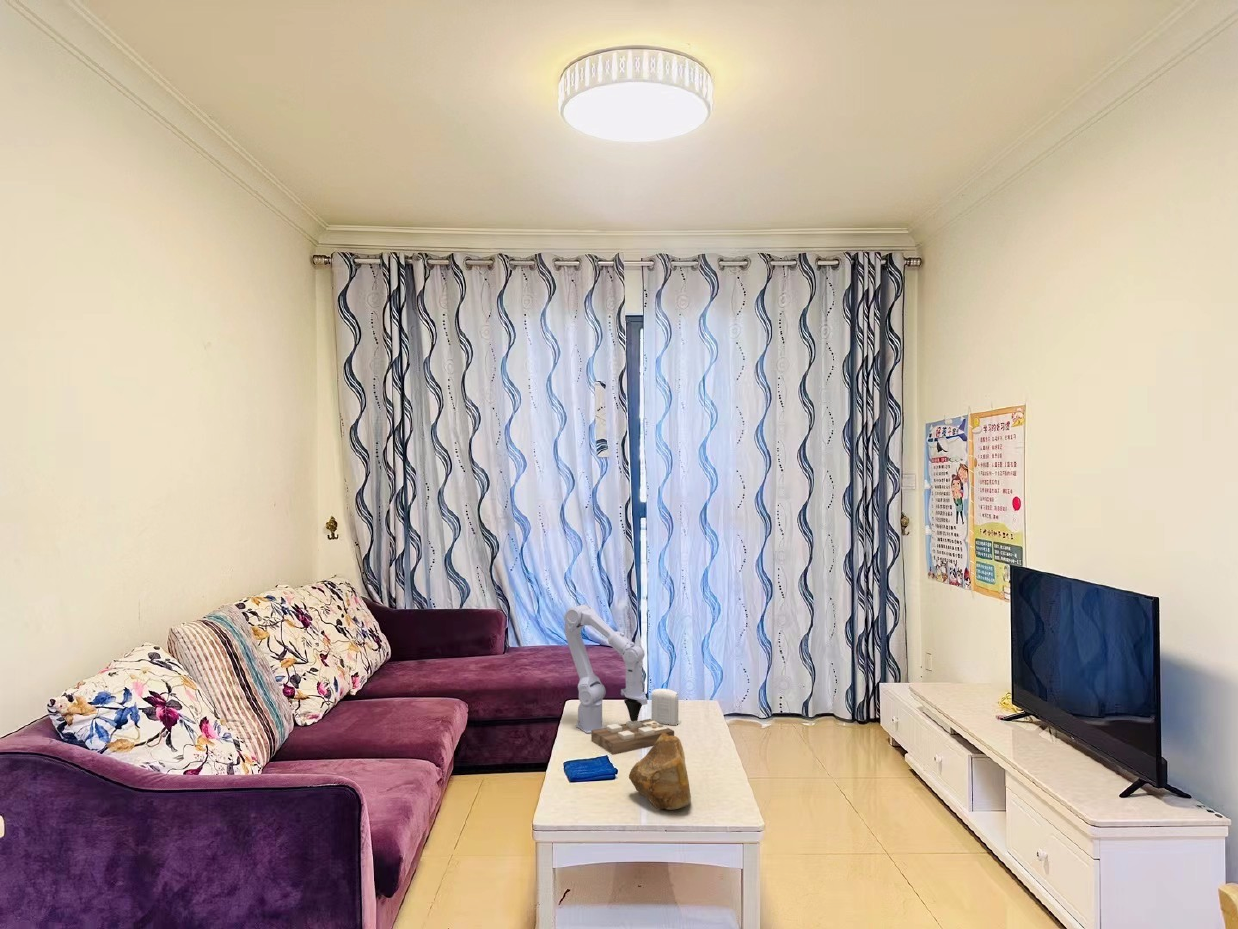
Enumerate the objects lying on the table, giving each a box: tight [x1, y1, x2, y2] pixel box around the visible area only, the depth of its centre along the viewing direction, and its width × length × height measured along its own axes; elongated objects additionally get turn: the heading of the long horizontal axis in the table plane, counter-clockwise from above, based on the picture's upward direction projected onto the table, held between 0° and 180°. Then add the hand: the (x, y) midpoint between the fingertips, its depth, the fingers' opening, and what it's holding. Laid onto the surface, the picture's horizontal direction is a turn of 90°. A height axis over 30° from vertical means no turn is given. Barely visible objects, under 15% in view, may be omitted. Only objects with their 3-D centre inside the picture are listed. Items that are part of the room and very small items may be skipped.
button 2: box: [618, 731, 634, 740], centre depth 249 cm, size 4×4×1 cm
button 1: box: [605, 723, 622, 733], centre depth 256 cm, size 4×4×1 cm
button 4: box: [638, 726, 655, 736], centre depth 253 cm, size 4×4×1 cm
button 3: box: [625, 720, 642, 729], centre depth 260 cm, size 4×4×1 cm
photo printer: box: [651, 688, 679, 726], centre depth 274 cm, size 10×4×12 cm, turn 67°
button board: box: [590, 718, 675, 755], centre depth 255 cm, size 15×24×4 cm, turn 120°
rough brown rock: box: [628, 733, 692, 811], centre depth 210 cm, size 23×17×15 cm
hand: (634, 720), depth 260 cm, fingers closed
